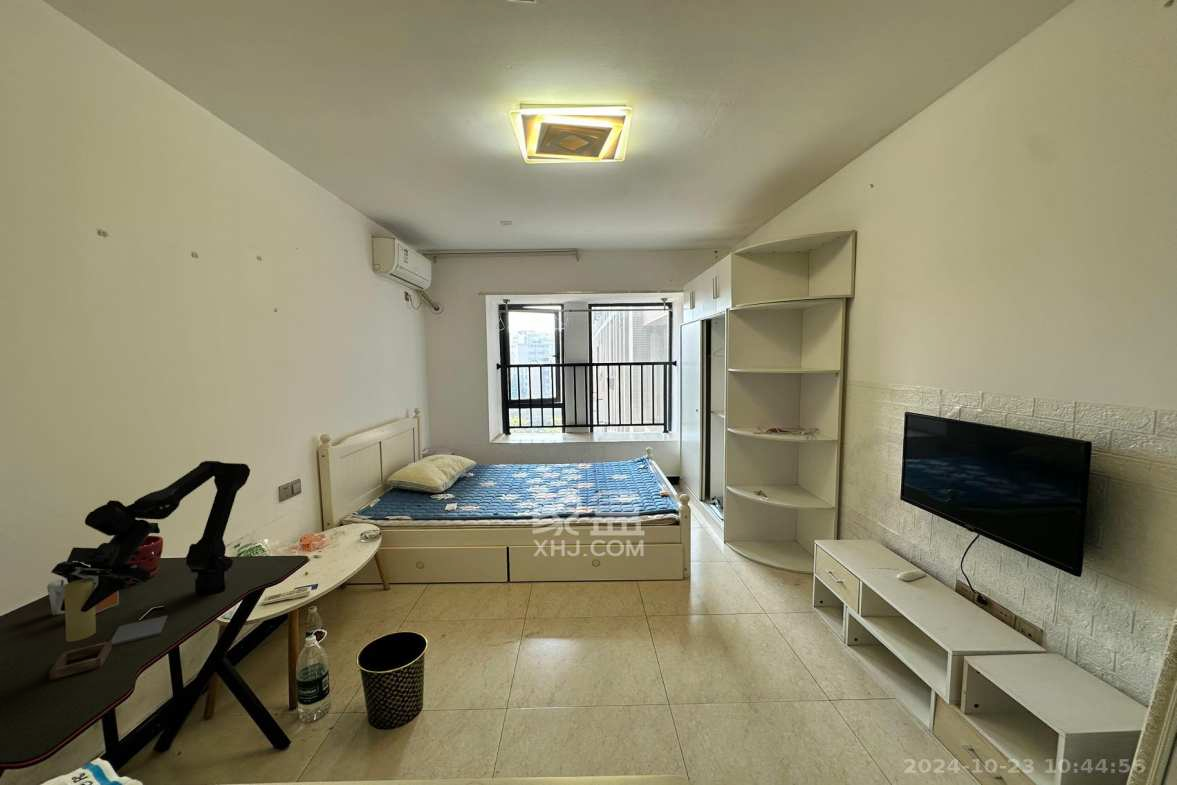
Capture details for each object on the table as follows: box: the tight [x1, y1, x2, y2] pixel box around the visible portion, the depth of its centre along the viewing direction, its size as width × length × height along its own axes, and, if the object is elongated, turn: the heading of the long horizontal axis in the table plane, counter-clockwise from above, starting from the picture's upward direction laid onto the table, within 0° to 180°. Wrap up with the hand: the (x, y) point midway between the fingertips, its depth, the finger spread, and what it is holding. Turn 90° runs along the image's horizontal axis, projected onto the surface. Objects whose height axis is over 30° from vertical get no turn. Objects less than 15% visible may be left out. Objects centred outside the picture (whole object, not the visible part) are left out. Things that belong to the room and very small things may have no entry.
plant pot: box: [127, 535, 164, 585], centre depth 137 cm, size 13×13×12 cm
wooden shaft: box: [64, 578, 97, 642], centre depth 98 cm, size 4×4×12 cm
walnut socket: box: [48, 640, 113, 681], centre depth 98 cm, size 8×8×2 cm
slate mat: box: [110, 615, 168, 647], centre depth 111 cm, size 9×9×1 cm
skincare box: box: [91, 571, 120, 615], centre depth 120 cm, size 6×4×12 cm
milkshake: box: [46, 577, 68, 616], centre depth 118 cm, size 4×5×10 cm
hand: (72, 611), depth 96 cm, fingers closed on wooden shaft, 4 cm apart
